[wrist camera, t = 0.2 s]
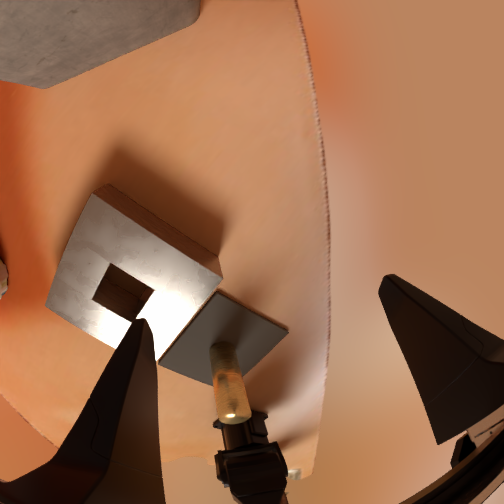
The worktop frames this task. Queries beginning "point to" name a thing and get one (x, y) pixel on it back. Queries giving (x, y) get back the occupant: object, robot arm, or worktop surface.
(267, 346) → the mat
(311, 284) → the worktop surface
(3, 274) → the flashlight
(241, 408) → the pin
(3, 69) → the hip flask
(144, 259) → the block
